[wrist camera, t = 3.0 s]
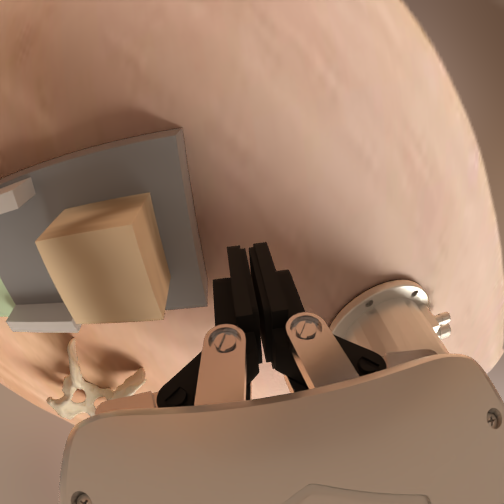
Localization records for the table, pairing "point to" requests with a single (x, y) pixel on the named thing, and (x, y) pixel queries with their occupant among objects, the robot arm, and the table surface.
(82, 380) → the anatomical model
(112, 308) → the block
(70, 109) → the table surface
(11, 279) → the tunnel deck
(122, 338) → the table surface
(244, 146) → the table surface
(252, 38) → the table surface
